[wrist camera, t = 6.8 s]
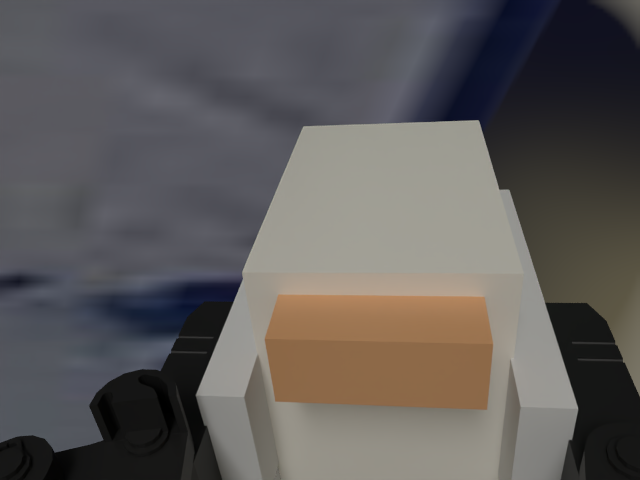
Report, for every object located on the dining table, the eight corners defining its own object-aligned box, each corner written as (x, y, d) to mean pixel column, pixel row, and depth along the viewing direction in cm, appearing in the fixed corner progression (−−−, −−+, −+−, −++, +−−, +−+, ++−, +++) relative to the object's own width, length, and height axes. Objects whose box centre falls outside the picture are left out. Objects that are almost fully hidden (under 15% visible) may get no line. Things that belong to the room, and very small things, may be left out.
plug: (323, 324, 17) (278, 567, 11) (303, 126, 14) (223, 315, 8) (466, 327, 16) (499, 585, 10) (478, 120, 13) (538, 319, 7)
